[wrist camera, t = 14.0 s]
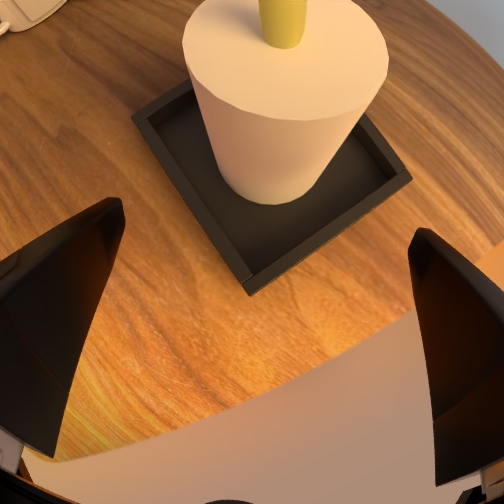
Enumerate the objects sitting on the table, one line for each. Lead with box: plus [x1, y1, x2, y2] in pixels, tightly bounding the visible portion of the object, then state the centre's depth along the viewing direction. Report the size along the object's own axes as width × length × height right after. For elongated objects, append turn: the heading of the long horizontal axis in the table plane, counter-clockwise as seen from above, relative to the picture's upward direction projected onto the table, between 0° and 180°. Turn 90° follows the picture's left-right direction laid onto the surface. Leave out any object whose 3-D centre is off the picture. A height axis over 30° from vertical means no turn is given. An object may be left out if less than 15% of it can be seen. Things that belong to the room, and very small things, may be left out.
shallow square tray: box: [131, 78, 413, 296], centre depth 18 cm, size 13×12×2 cm
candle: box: [182, 0, 389, 205], centre depth 11 cm, size 6×6×15 cm
